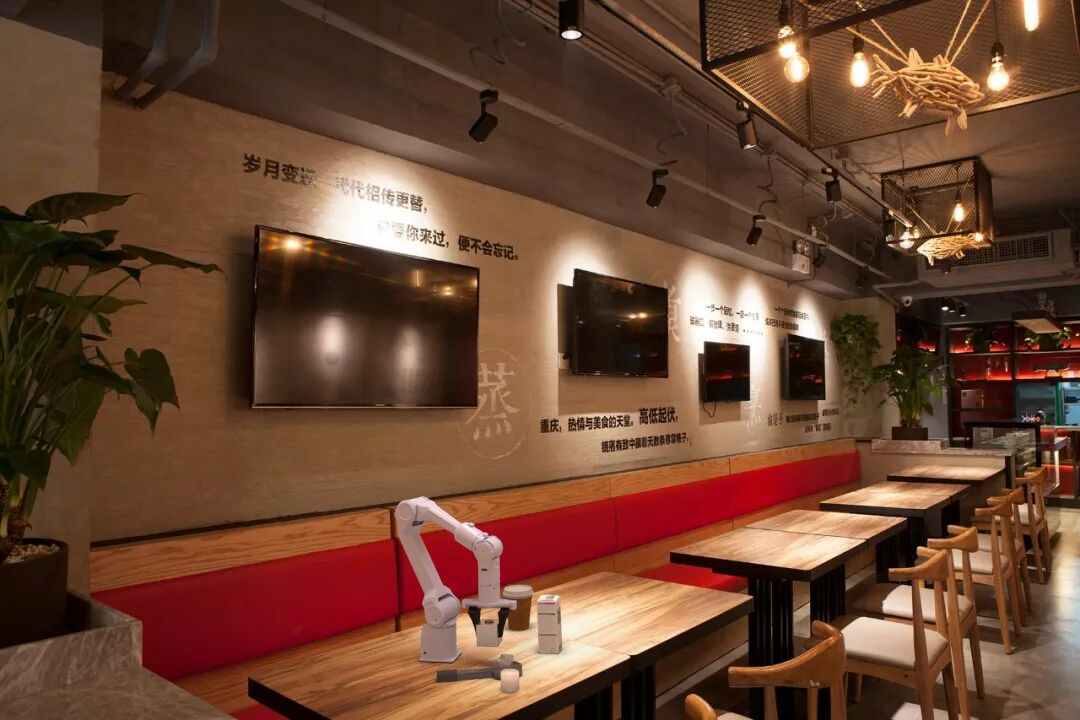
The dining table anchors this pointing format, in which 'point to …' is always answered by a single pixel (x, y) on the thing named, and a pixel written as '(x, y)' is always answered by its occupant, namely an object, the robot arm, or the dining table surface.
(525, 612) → the disposable coffee cup
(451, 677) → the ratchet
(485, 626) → the tan square block
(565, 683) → the dining table surface
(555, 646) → the syrup box
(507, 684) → the pale pink cylinder
